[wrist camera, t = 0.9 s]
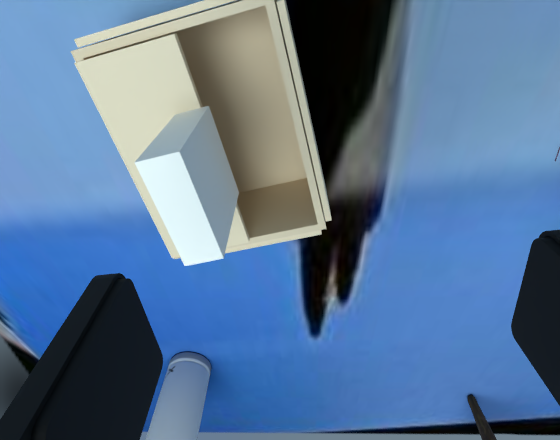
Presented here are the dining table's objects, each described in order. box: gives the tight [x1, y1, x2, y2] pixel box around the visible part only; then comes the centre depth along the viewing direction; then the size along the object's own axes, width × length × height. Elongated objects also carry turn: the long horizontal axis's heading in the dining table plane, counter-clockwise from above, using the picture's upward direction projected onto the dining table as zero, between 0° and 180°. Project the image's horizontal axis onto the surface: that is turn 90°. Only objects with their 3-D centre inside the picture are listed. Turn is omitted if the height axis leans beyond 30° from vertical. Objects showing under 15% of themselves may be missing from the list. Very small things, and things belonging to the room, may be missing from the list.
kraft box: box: [71, 0, 332, 262], centre depth 34 cm, size 15×19×10 cm
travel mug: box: [146, 352, 211, 440], centre depth 50 cm, size 6×7×20 cm
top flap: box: [75, 33, 250, 266], centre depth 26 cm, size 8×17×9 cm, turn 14°
